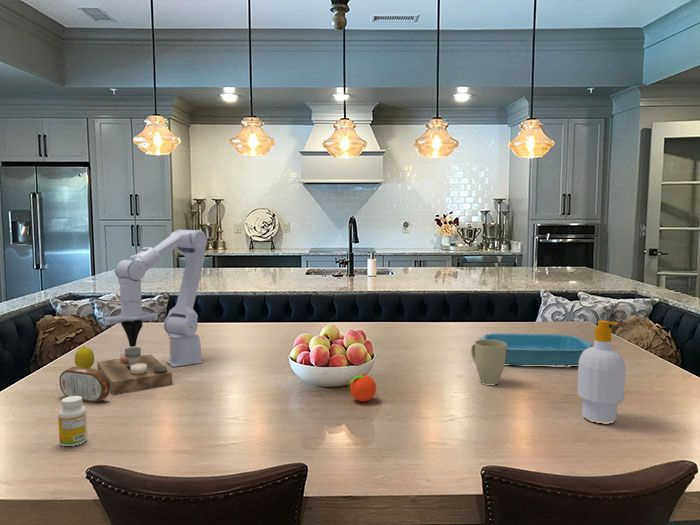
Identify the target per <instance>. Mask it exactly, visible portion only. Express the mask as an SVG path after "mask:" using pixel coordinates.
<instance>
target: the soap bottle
mask: <svg viewBox="0 0 700 525" xmlns="http://www.w3.org/2000/svg"><path fill="white" fill-rule="evenodd" d="M618 324H619V322H615V321H608V320H602V319H601V320H597V326H595V327H594V338H593V341H594V344H593V345H594V346H591V347H590V348H588V349H586V350H584V351H583V352H582V354H581V356H580V358H579V365H578V367H577V369H578V371H577V389H576V390H577V391H576V392H577V396H578V397H579V398H581V399H582V408H581V409H582V410H581V411H582V413H581V414H582V415H583V416H584V417H585V418H588V419H590V420H594V421H602V422H610V421H614V420H616V421H617V415H618V414H617V413H618V404H621V403H622V402H624V400H625V381H626V380H625V379H626V364H625V360H624V358H623V356H622V354H621V353H620V352H618V351H617V350H615V349H614V348H611V347H612V331H613V330H612V328H611V327H610V325H618ZM583 416H582V417H583Z"/></svg>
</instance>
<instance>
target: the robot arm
mask: <svg viewBox="0 0 700 525" xmlns="http://www.w3.org/2000/svg"><path fill="white" fill-rule="evenodd" d="M207 243H208V238H207V236H206V235H205V232H203V230H201V229H195V230H194V229H180V228H179V229H176V230H175V231H173V232H171V233H170V235H168V237H166V238H164V240H162V241H161V242H160V243H158V244H157V245H155V246H154V247H151V246H149V247H147V246H144V247H142V248H141V251H139V252H138V253H136V254H134V255H131V256H130V257H129V259H124V260H120V261H119V262H118V264H117V265H116V268H115V269H114V274H115V277H116V278H117V280H118V285H119V294H120V315H113V316H107V317H106V316H105V317H104V325H105V326H109V325H115V324H121V327H122V328H123V330H124V332H125V335H126V337H127V341H128V344H129V348H131V347H137V339H138V336H139V334H140V331H141V329H142V327H143V325H144V324H143V323H144V322H146V321H152V320H153V321H158V319H159V318H158V312H145V313H144V312H143V310H142V284H141V283H142V279H144V277H145V273H146V272H147V271H149V270H151V268H153V267H154V266H156V265H157V264H158V263H160V262H161V261H160V260H161V257H163V256H164V255H167V254H168V253H170V252H171V251H173V250H175V249H177V251H179V252H180V253H181V254H182V255H183V256H184V258H185V260H186V263H185V266H184V271H183V276H182V278H181V284H180V287H179V292H178V296H177V300H176V304H175V306H173V307H172V308H171V309H170V310H169V311H168V314H167V316H166V318H165V320H164V322H163V329H164V331H165V332H166V333H167V337H169V359H166V362H167V363H168V364H169V365H170V366H171V367H173V368H175V367H182V366H189V365H195V364H201V363H202V355H201V354H202V352H201V351H202V349H201V345H202V344H201V339H200V338H201V337H200V336H199V335H198V334H196V332H197V330H198V326H199V325H198V318H199V315H198V314H197V312H196V311H195V310H194V307H195V306H194V304H195V301H196V297H197V293H198V288H199V283H200V280H201V275H202V271H203V267H204V264H205V258H206V257H205V256H206V254H205V252H206V248H207ZM143 321H144V322H143Z"/></svg>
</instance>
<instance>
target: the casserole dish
mask: <svg viewBox="0 0 700 525" xmlns="http://www.w3.org/2000/svg"><path fill="white" fill-rule="evenodd" d="M486 339H487V340H498V341H502V342H505V343H506V344H507V346H506V356H505V364H509V365H556V366H557V365H565V366H568V365H579V358H580V356H581V354H582V352H583V351H584V350H586V349H588V348H591V347H594V346H593V345H594V344H593V342H591V341H590V340H588V339H585V338H581V337H578V336H574V335H570V334H569V335H567V334H553V333H549V334H547V333H545V334H544V333H502V332H500V333H487V334H484V335H483V337H480V338H479V339H478V340H486Z"/></svg>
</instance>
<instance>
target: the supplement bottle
mask: <svg viewBox="0 0 700 525" xmlns="http://www.w3.org/2000/svg"><path fill="white" fill-rule="evenodd" d="M60 402H61V409H59V411H58V414H57V417H58V418H57V419H58V435H59V436H58V437H59V438H58V439H59V445H60V446H61V447H64V446H72V447H76V446H75V445H77V446H80V445H83V444H85V443H86V442H87V441H88V423H87V422H88V421H87V409H86V407H85V406H84V405H83V401H82V397H81V396H70V397H66V396H65V397H64V398H62V399H61V401H60ZM86 440H87V441H86ZM85 441H86V442H85ZM84 442H85V443H84ZM82 443H83V444H82ZM79 444H80V445H79Z"/></svg>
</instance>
